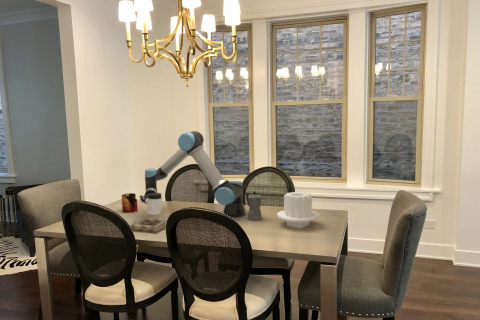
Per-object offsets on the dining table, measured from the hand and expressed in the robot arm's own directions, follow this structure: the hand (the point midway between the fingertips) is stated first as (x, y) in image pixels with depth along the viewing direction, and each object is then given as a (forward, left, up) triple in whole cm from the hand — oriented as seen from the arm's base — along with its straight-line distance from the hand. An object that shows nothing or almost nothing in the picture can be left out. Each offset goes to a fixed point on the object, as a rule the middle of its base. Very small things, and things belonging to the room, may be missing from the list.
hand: (149, 202), depth 228 cm
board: (+2, -3, -16) cm, 16 cm away
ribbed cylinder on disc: (-84, -29, -16) cm, 91 cm away
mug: (+36, -33, -16) cm, 52 cm away
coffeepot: (-54, -36, -16) cm, 67 cm away
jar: (-1, -4, -8) cm, 9 cm away
